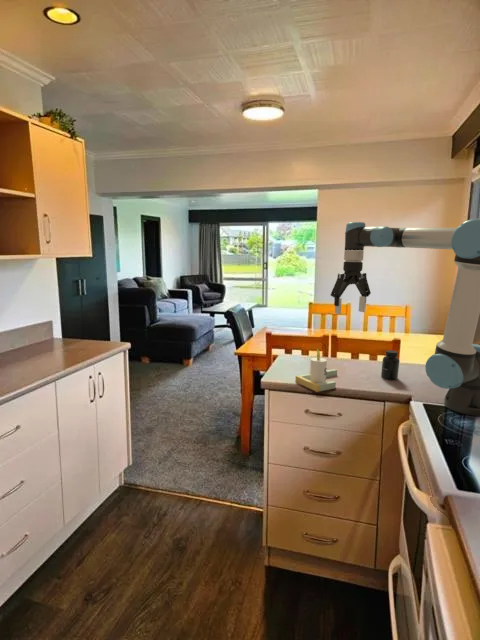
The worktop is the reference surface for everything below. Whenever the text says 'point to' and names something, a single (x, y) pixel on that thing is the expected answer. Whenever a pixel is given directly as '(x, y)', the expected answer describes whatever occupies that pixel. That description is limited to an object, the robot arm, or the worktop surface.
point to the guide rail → (316, 387)
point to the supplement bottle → (390, 365)
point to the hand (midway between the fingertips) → (349, 312)
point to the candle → (318, 369)
